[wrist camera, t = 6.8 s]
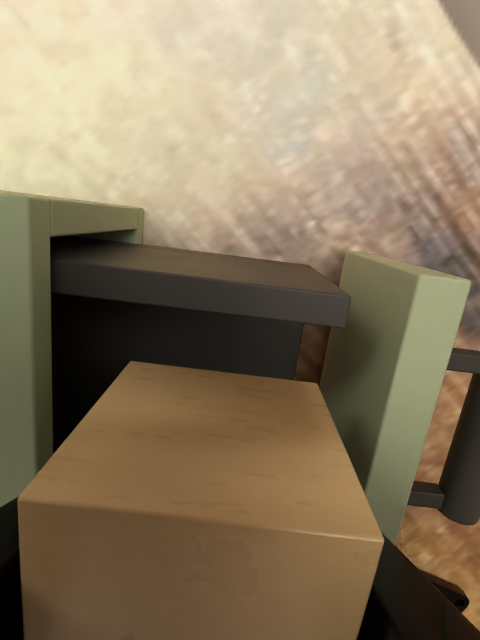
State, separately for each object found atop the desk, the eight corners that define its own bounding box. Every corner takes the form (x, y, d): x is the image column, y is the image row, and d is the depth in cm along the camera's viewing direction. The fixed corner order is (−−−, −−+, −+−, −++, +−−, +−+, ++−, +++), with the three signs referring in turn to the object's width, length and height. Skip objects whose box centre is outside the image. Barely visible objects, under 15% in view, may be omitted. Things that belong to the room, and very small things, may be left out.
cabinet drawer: (481, 267, 14) (656, 303, 8) (414, 492, 17) (509, 644, 11) (50, 213, 14) (-101, 208, 8) (53, 450, 17) (-57, 582, 11)
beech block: (317, 382, 9) (386, 540, 5) (288, 534, 10) (320, 775, 6) (130, 359, 9) (14, 498, 4) (122, 515, 10) (26, 744, 6)
